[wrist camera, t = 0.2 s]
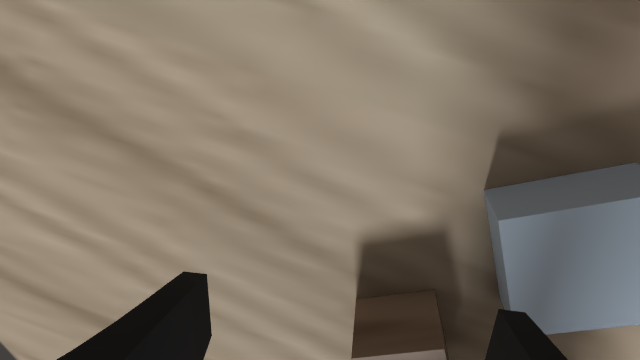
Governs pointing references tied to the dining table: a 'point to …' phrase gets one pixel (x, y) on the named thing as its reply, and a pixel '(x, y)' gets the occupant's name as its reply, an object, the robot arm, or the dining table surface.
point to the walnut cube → (399, 328)
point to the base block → (569, 248)
